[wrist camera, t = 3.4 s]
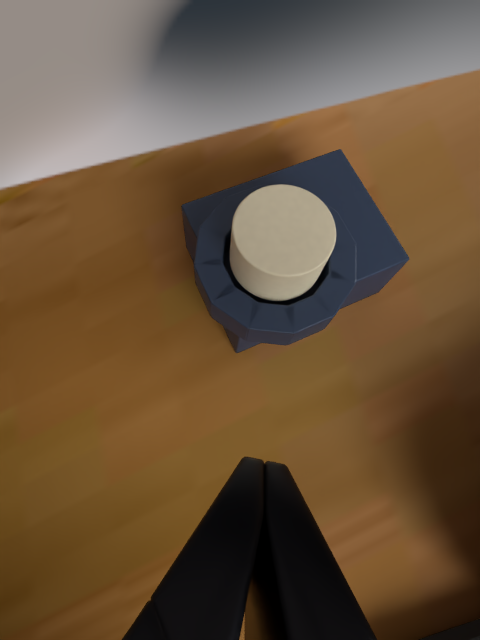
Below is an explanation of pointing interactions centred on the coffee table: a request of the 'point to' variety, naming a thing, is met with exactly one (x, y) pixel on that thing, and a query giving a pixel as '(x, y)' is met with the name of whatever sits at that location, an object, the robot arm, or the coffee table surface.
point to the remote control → (459, 632)
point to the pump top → (280, 241)
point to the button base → (334, 280)
